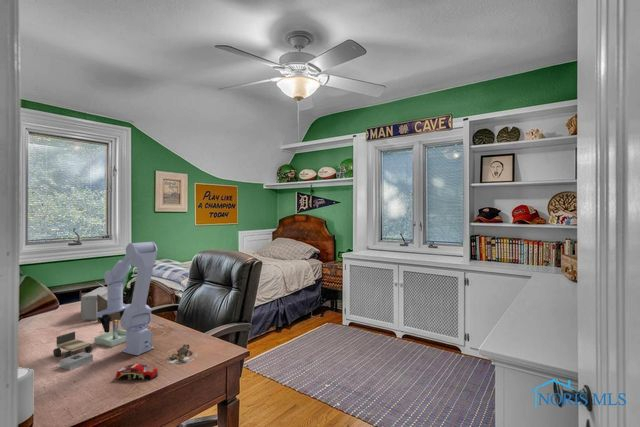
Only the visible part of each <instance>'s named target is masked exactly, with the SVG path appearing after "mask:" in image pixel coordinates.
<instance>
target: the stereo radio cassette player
mask: <svg viewBox="0 0 640 427" xmlns="http://www.w3.org/2000/svg"><path fill="white" fill-rule="evenodd" d="M95 283H97V284H99V287H98V288H96V289H93V290H91V291H89V292H87V293H85V294H84V295H82V296H81V298H80V317H81V320H83V321H84V322H86V321H97V294H99V295H100V296H101V297H103V298H104V299H106V300H107V286H105V285H103V284H101V283H100V282H97V281H95Z"/></svg>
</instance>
